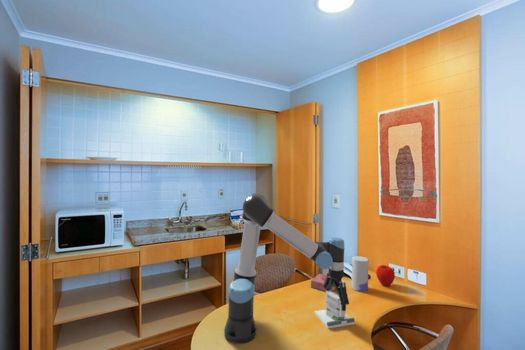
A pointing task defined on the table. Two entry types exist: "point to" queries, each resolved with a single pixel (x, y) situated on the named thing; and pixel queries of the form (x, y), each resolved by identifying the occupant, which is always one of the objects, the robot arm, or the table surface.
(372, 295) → the table surface
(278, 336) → the table surface
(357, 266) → the container
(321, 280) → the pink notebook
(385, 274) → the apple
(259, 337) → the table surface
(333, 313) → the ink box
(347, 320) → the white flat box
